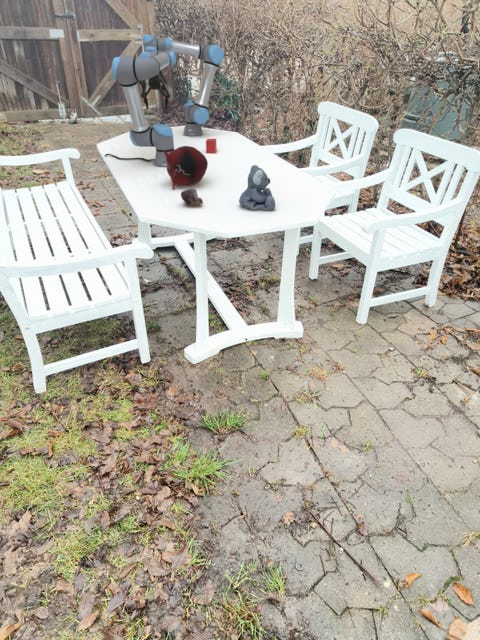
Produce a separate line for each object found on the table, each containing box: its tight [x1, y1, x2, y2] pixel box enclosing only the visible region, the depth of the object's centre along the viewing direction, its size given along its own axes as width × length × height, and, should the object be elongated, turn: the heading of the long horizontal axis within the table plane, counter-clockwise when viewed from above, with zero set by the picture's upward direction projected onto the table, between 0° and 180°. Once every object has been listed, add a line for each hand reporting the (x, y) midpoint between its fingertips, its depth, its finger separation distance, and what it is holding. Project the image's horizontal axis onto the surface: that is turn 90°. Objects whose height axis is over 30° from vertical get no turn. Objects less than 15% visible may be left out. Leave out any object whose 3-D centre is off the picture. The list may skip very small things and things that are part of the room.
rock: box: [180, 188, 204, 207], centre depth 229 cm, size 12×9×10 cm
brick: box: [205, 138, 218, 154], centre depth 316 cm, size 7×6×8 cm
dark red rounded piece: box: [163, 145, 209, 190], centre depth 255 cm, size 21×24×25 cm
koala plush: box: [238, 164, 276, 211], centre depth 224 cm, size 17×18×20 cm
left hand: (157, 108), depth 309 cm, fingers open, 13 cm apart
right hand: (154, 95), depth 324 cm, fingers open, 13 cm apart
